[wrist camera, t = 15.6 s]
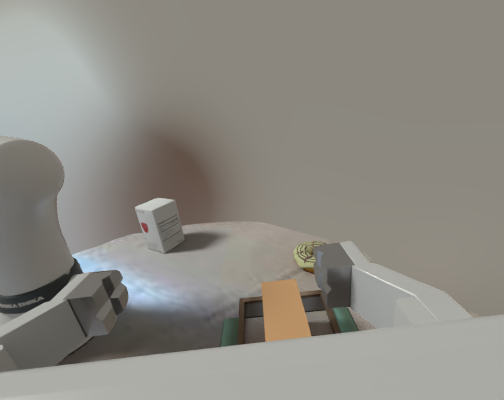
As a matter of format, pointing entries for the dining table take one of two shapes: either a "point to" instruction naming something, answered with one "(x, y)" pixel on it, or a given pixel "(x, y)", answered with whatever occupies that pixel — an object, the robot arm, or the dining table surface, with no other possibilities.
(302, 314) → the orange block
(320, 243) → the decorated donut
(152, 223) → the supplement box
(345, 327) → the trap lane
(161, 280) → the dining table surface
